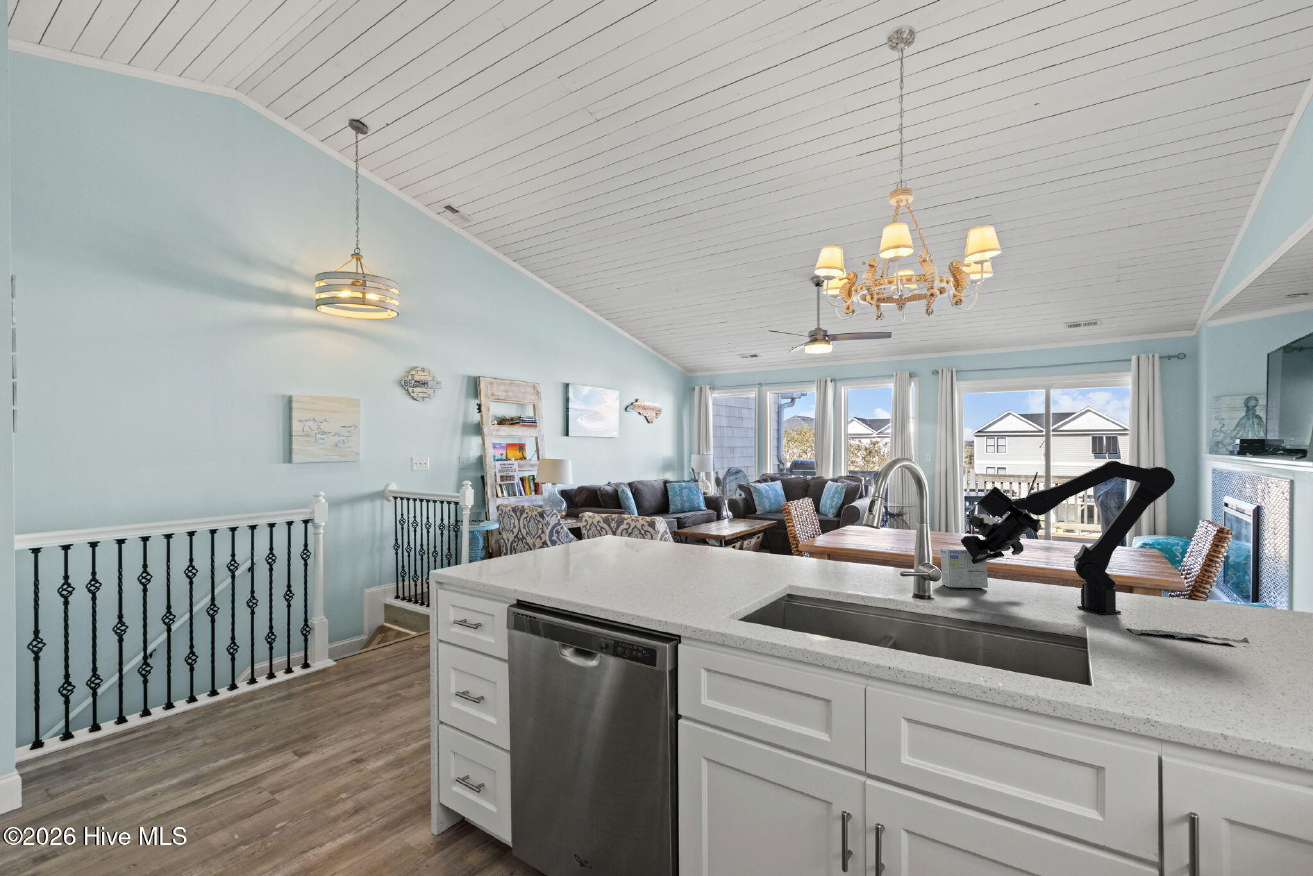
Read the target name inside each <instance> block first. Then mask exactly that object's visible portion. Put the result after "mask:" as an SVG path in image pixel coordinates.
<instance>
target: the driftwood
mask: <svg viewBox="0 0 1313 876" xmlns="http://www.w3.org/2000/svg"><path fill="white" fill-rule="evenodd" d="M1126 630H1130V632H1132V633H1133V634H1134V635H1139V634H1152V635H1171V636H1172V635H1173V636H1174V638H1175V639H1176V640H1177V639H1179V638H1180V639H1181V638H1190V639H1193V640H1194V639H1196V640H1200V641H1204V642H1207V643H1213V644H1215V643H1216V644H1218V642H1217V641H1221V642H1220V644H1221V645H1227V646H1233V647H1234V648H1237V646H1236V645H1233V644H1231V643H1230V642H1232V643H1237V644H1238V645H1240V644H1241V643H1243V644H1249V645H1250V641H1249V638H1248V637H1243V638H1242V639H1230V638H1229V637H1218V636H1208V635H1205V634H1201V633H1188V632H1187V633H1185V632H1181V631H1169V630H1162V629H1135V628H1131V627H1129V628H1128V627H1127V628H1126ZM1203 638H1204V639H1203ZM1207 639H1214V640H1216V641H1214V640H1213V641H1212V640H1207ZM1242 647H1243V648H1248V649H1249V648H1251V646H1249V647H1248V646H1246V645H1242Z"/></svg>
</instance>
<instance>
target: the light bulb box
mask: <svg viewBox="0 0 1313 876" xmlns="http://www.w3.org/2000/svg"><path fill="white" fill-rule="evenodd" d="M939 551H940V566H941V567H940V568H941V582H942V586H944V585H945V587H948V588H967V589H968V588H971V589H972V588H973V589H974V588H975V589H976V588H977V589H979V588H980V589H989V581H988V579H989V578H988V567H987V564H988V563H987V561H985V562H981V563H977V564H973V563H972V558H973V557H972V556H971V555H970V554H969V552H968V551H967V550H966V548H939Z"/></svg>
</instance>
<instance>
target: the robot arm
mask: <svg viewBox="0 0 1313 876" xmlns="http://www.w3.org/2000/svg"><path fill="white" fill-rule="evenodd" d="M1114 478H1120V479H1123V480H1129V481H1133V482H1135V483H1134V486H1133V488H1132V490H1131V493H1130V496H1129V497H1128V499H1127V500H1126V501H1125V503H1124V504H1123V505H1122V507H1121V508H1120V510H1118V512H1117V513H1116V515H1115V516H1114V517H1113V518H1112V520H1111V521H1110V522H1109V524H1108V525H1107V526H1106V527H1105V529H1104V531H1103V532H1102V533H1101V535H1100V536H1099V537H1098V539H1097V540H1096V541H1095V542H1094V543H1093V544H1091V545H1090V546H1089V547H1088V546H1087V545H1086V544H1084V543H1083V544H1082V545H1081V547H1080V549H1079V552H1078V553H1075V555H1073V558H1074V560H1073V561H1074V562H1073V567H1074V570H1075V572H1076V574H1077V576H1078V577H1079V578H1081V579H1082V580H1084V581H1085V583H1084V582H1083V583H1082V584H1081V589H1080V604H1081V605H1077V606H1076V608H1077V609H1080V610H1083V611H1086V612H1090V613H1094V614H1097V615H1113V614H1114V615H1115V614H1121V613H1122V611H1121V610H1118V609H1117V604H1116V603H1117V600H1116V599H1117V597H1116V595H1117V594H1116V593H1117V592H1116V591H1117V589H1116V587H1115V586H1116V581H1115V580H1114V579H1113V578H1112V576H1111V575H1110V574H1109V573H1108V572H1107V569H1108V566H1109V564H1110V561H1111V559H1112V556H1113V553H1114V552H1115V550H1116V548H1118V546H1119V545H1120V543H1121V542H1122V541H1123V540H1124V538H1125V537H1126V536H1127V535H1128V533H1129V532H1130V531H1131V529H1132V527H1134V525H1135V524H1136V523H1137V522H1138V520H1139V519H1140V517H1141V516H1143V513H1144V512H1145V511H1146V510H1147V508H1148V507H1149V506H1150V505H1151V504H1152V503H1154V502H1155V501H1157V500H1158V499H1159V498H1161V497H1162V496H1163V495H1164V494H1165V493H1167V492H1168V491H1169V490H1170V489H1171V488H1172V487H1173V486H1174V484H1175V481H1176V478H1175V476H1174V474H1173V472H1172V471H1171V470H1169V469H1168V468H1166V467H1163V466H1155V465H1151V466H1147V467H1140V466H1136V465H1131V464H1126V463H1122V462H1120V461H1117V460H1107V461H1106V462H1104V464H1102V465H1100V466H1097V467H1096V468H1092V469H1090V470H1088V471H1086V472H1084V473H1082V474H1080V475H1078V476H1076V477H1074V478H1071V479H1069V480H1067V481H1065V482H1063V483H1061V484H1058V485H1054V486H1051V487H1046V488H1044V489H1040V490H1036V491H1032V492H1030V493H1028V494H1027V495H1026V496H1025V497H1020V498H1017V497H1015V498H1013V499H1012V498H1011V497H1009V496H1008V495H1006V494H1005V493H1004V492H1003V491H1001V489H1000V488H999V487H998V486H993V487H992V489H991V490H990V491H988V493H986V494H984V495H983V496H982V498H981V499H979V501H978V502H977V503H976V505H977V506H978V507H979V508H981V509H982V510H983V511H985V513H987V514H984V513H982V514H981V513H979V514H975V515H972V517H969V524H970V525H971V526H972V527H974V528H976V529H978V530H979V531H980V532H981V533H980V535H981V536H982V537H983V538H984V539H981V538H980V537H979V536H978V535H975V534H974V535H973V534H972V535H965V536H963V537H962V538H961V539H960V543H961V544H962V545H963V547H964V549H966V550H967V551H968V552H969V554H970V555H971V556H972V557H973V558H972V563H973V564H977V563H981V562H985V561H986V562H989V561H992V560H997V559H1000V558H1004V557H1005V554H1004V553H1003V552H1007V551H1010V550H1011V549H1012V551H1011V552H1010V553H1011V555H1013V556H1017V555H1020V554H1022V552H1024V550H1025V549H1024V545H1023V544H1022V542H1020V541H1021V540H1022V539H1021V536H1022V535H1024V533H1026V532H1027V531H1028V530H1029V529H1031V531H1033V532H1034V533H1039V531H1040V530H1041V528H1042V523H1041V519H1040V518H1034V517H1033V516H1043V515H1045V514H1047V513H1049V512H1050V511H1051V510H1053V509H1055V508H1056V507H1057V506H1059V505H1060V504H1062V503H1063V502H1065V501H1066V500H1067V499H1069V498H1072V497H1074V496H1076V495H1079V494H1081V493H1082V492H1083V493H1084V491H1087V490H1089V489H1091V488H1094V487H1096V486H1099V485H1100V484H1102V483H1104V482H1107V481H1109V480H1112V479H1114ZM1022 510H1024V511H1022ZM1026 511H1027V512H1028V513H1029V514H1028V513H1027V512H1026ZM1008 512H1009V513H1008ZM1007 513H1008V514H1007ZM1006 514H1007V515H1006ZM1030 514H1031V515H1030ZM1005 515H1006V516H1005ZM1032 515H1033V516H1032ZM1004 516H1005V517H1004ZM996 517H997V518H999V519H1002V518H1003V517H1004V518H1003V519H1002V520H1001V521H1000V522H999V521H997V520H996V519H994V518H996Z"/></svg>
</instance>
